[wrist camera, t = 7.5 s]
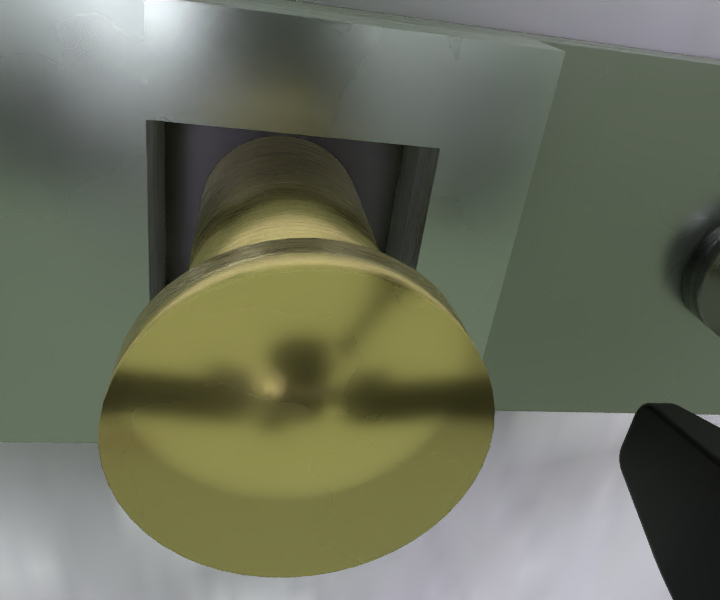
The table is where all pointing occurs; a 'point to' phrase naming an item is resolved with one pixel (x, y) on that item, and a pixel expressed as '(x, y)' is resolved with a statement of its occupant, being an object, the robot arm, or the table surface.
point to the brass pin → (292, 382)
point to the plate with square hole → (412, 200)
